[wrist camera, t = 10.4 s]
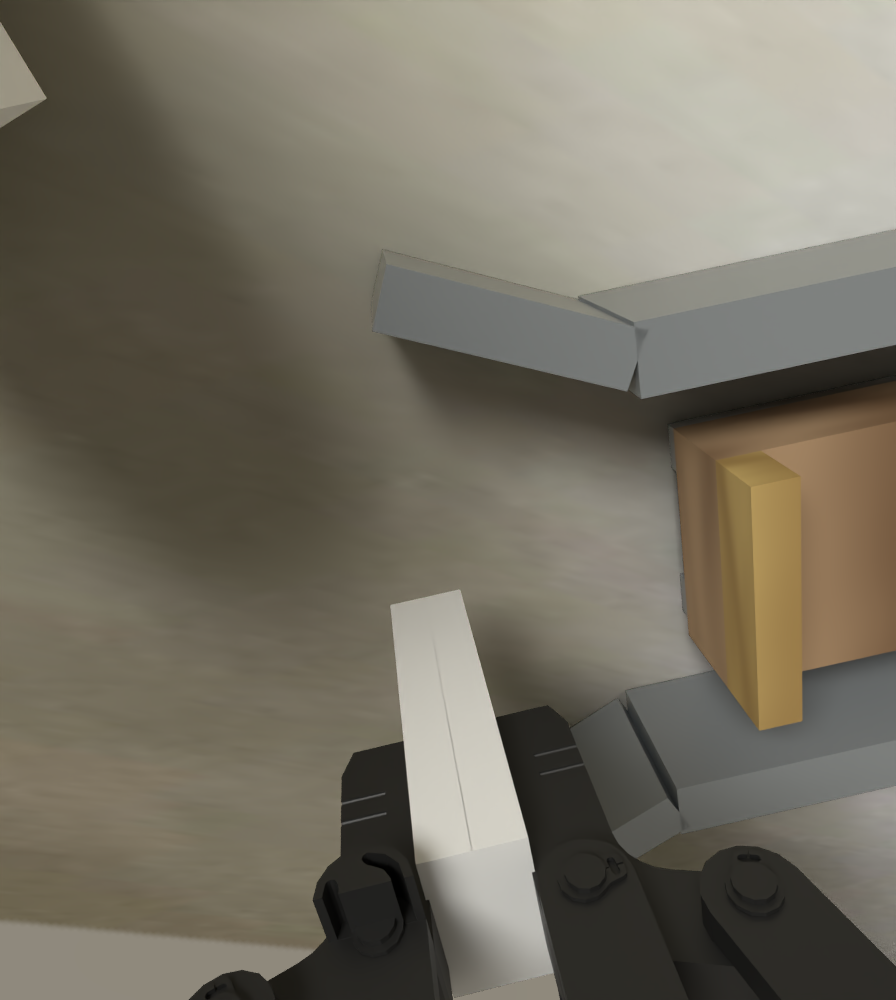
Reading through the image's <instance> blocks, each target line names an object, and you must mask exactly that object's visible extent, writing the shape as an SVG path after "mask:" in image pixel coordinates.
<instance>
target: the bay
mask: <svg viewBox="0 0 896 1000" xmlns="http://www.w3.org/2000/svg"><path fill="white" fill-rule="evenodd" d="M578 297H579V300H578V299H574V298H570V297H566V296H562V295H558V294H554V293H550V292H546V291H543V290H539V289H535V288H531V287H527V286H523V285H519V284H515V283H511V282H507V281H504V280H500V279H496V278H492V277H488V276H484V275H480V274H476V273H472V272H468V271H465V270H461V269H457V268H453V267H449V266H445V265H441V264H437V263H433V262H429V261H426V260H422V259H418V258H414V257H410V256H406V255H402V254H398V253H394V252H390V251H387V250H383V249H382V253H381V258H380V263H379V268H378V273H377V277H376V282H375V287H374V292H373V296H372V301H371V312H372V331H373V332H377V333H381V334H385V335H390V336H394V337H398V338H402V339H407V340H411V341H415V342H419V343H423V344H428V345H432V346H436V347H440V348H445V349H449V350H453V351H457V352H462V353H466V354H470V355H474V356H479V357H483V358H487V359H491V360H496V361H500V362H504V363H508V364H513V365H517V366H521V367H525V368H530V369H534V370H538V371H542V372H546V373H551V374H555V375H559V376H563V377H568V378H572V379H576V380H580V381H585V382H589V383H593V384H597V385H602V386H606V387H610V388H614V389H619V390H623V391H628V390H629V391H631V392H632V393H634V394H635V395H636V396H638V397H639V398H640V399H644V398H649V397H654V396H658V395H663V394H668V393H672V392H677V391H682V390H686V389H691V388H696V387H700V386H705V385H710V384H714V383H719V382H724V381H728V380H733V379H738V378H742V377H747V376H752V375H756V374H761V373H766V372H771V371H775V370H780V369H785V368H789V367H794V366H799V365H803V364H808V363H813V362H817V361H822V360H827V359H831V358H836V357H841V356H845V355H850V354H855V353H859V352H864V351H869V350H873V349H878V348H883V347H887V346H892V345H896V229H895V230H890V231H885V232H880V233H876V234H871V235H866V236H861V237H857V238H852V239H847V240H842V241H838V242H833V243H828V244H823V245H819V246H814V247H809V248H804V249H800V250H795V251H790V252H785V253H781V254H776V255H771V256H766V257H762V258H757V259H752V260H747V261H743V262H738V263H733V264H728V265H724V266H719V267H714V268H710V269H705V270H700V271H695V272H691V273H686V274H681V275H676V276H672V277H667V278H662V279H657V280H653V281H648V282H643V283H638V284H634V285H629V286H624V287H619V288H615V289H610V290H605V291H600V292H596V293H591V294H586V295H581V296H578ZM625 691H626V699H627V707H628V711H627V709H626V708H625V707H624V705H623V704H622V703H621V702H620V700H619V699H618V698H617V699H615V700H614V701H612V702H611V703H609V704H608V705H606V706H604V707H603V708H601V709H600V710H598V711H597V712H595V713H593V714H592V715H590V716H589V717H587V718H586V719H584V720H582V721H581V722H579V723H578V724H576V725H575V726H573V727H571V728H570V730H571V733H572V735H573V737H574V740H575V742H576V746H577V748H578V750H579V752H580V755H581V757H582V760H583V762H584V766H585V767H586V769H587V772H588V774H589V777H590V779H591V782H592V784H593V787H594V789H595V792H596V794H597V797H598V799H599V802H600V804H601V806H602V809H603V811H604V814H605V816H606V819H607V821H608V824H609V826H610V829H611V831H612V833H613V835H614V837H615V839H616V840H617V842H618V844H619V845H620V846H621V847H622V848H623V849H624V850H625V851H626V852H627V853H628V854H630V855H631V856H633V857H634V858H638V857H640V856H641V855H643V854H645V853H646V852H648V851H650V850H651V849H653V848H655V847H656V846H658V845H660V844H661V843H663V842H665V841H666V840H668V839H670V838H671V837H673V836H675V835H676V834H678V833H680V832H681V834H684V833H689V832H693V831H698V830H702V829H707V828H711V827H715V826H720V825H724V824H729V823H733V822H738V821H742V820H746V819H751V818H755V817H760V816H764V815H769V814H773V813H777V812H782V811H786V810H791V809H795V808H800V807H804V806H808V805H813V804H817V803H822V802H826V801H831V800H835V799H839V798H844V797H848V796H853V795H857V794H862V793H866V792H870V791H875V790H879V789H884V788H888V787H892V786H896V651H891V652H887V653H882V654H878V655H873V656H869V657H864V658H860V659H855V660H851V661H846V662H842V663H837V664H833V665H828V666H824V667H819V668H815V669H810V670H806V671H802V721H801V722H796V723H792V724H788V725H783V726H779V727H774V728H770V729H765V730H761V731H759V730H758V728H757V727H756V726H755V724H754V723H753V722H752V720H751V719H750V717H749V716H748V715H747V713H746V712H745V711H744V709H743V708H742V707H741V705H740V704H739V702H738V701H737V700H736V698H735V697H734V696H733V694H732V693H731V692H730V690H729V689H728V687H727V686H726V685H725V683H724V682H723V681H722V679H721V678H720V677H719V675H718V674H717V673H716V671H711V672H706V673H702V674H697V675H693V676H688V677H684V678H679V679H675V680H670V681H666V682H661V683H657V684H652V685H648V686H643V687H639V688H634V689H630V690H625Z"/></svg>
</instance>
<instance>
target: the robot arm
mask: <svg viewBox="0 0 896 1000" xmlns="http://www.w3.org/2000/svg"><path fill="white" fill-rule="evenodd" d="M390 606H391V616H392V627H393V637H394V647H395V658H396V668H397V678H398V688H399V699H400V709H401V719H402V729H403V740H404V741H402V742H398V743H394V744H389V745H385V746H381V747H377V748H372V749H368V750H364V751H360V752H355V753H353V755H352V757H351V759H350V761H349V763H348V765H347V767H346V769H345V771H344V773H343V775H342V794H341V802H342V806H341V823H342V827H341V857H339V858H338V859H337V860H335V861H334V862H333V863H332V864H330V865H329V866H328V867H327V869H326V870H325V872H324V873H323V875H322V876H321V878H320V879H319V880H318V882H317V885H316V889H315V893H314V897H313V902H314V905H315V908H316V910H317V913H318V916H319V918H320V921H321V924H322V926H323V929H324V932H325V934H326V939H325V940H324V942H323V943H322V944H321V945H320V946H319V947H318V948H317V949H316V950H315V951H314V952H313V953H312V954H310V955H309V956H308V957H306V958H305V959H303V960H302V961H301V962H299V963H298V964H296V965H294V966H293V967H291V968H289V969H287V970H286V971H284V972H282V973H281V974H279V975H277V976H275V977H274V978H272V979H270V980H269V981H266V980H265V979H264V978H263V977H262V976H261V975H260V974H258V973H253V972H248V971H244V970H240V971H236V972H230V973H226V974H222V975H220V976H219V977H217V978H215V979H213V980H212V981H210V982H208V983H206V984H205V985H203V986H202V987H201V988H200V989H199V990H198V991H197V992H196V993H195V994H194V995H193V996H192V997H191V998H190V999H189V1000H453V997H452V992H453V996H454V998H456V997H460V996H464V995H468V994H472V993H476V992H480V991H484V990H488V989H492V988H496V987H500V986H504V985H508V984H512V983H516V982H520V981H524V980H528V979H532V978H536V977H540V976H544V975H548V974H552V973H554V976H555V979H556V983H557V987H558V991H559V996H560V1000H896V966H895V965H894V964H893V963H892V962H891V961H890V960H889V959H888V958H887V957H886V956H885V955H884V954H883V953H882V952H881V951H880V950H879V949H878V948H877V947H876V946H875V945H874V944H873V943H872V942H871V941H870V940H869V939H868V938H867V937H866V936H865V935H864V934H863V933H862V932H861V931H860V930H859V929H858V928H857V927H856V926H855V925H854V924H853V923H852V922H851V921H850V920H849V919H848V918H847V917H846V916H845V915H844V914H843V913H842V912H841V911H840V910H839V909H838V908H837V907H836V906H835V905H834V904H833V903H832V902H831V901H830V900H829V899H828V898H827V897H826V896H825V895H824V894H823V893H822V892H821V891H820V890H819V889H818V888H817V887H816V886H815V885H814V884H813V883H812V882H811V881H810V880H809V879H808V878H807V877H806V876H805V875H804V874H803V873H802V872H801V871H800V870H799V869H798V868H797V867H795V866H794V865H793V864H791V863H790V862H789V861H787V860H786V859H784V858H783V857H782V856H780V855H779V854H776V853H774V852H771V851H768V850H765V849H763V848H760V847H750V846H735V847H731V848H728V849H724V850H721V851H719V852H717V853H716V854H715V855H714V856H712V857H711V858H710V859H709V860H708V861H706V863H705V865H704V867H703V870H702V871H686V870H670V869H664V868H658V867H654V866H651V865H648V864H646V863H643V862H641V861H639V860H637V859H636V858H634V857H633V856H631V855H630V854H628V853H627V852H626V851H625V850H624V849H623V848H622V847H621V846H620V845H619V844H618V842H617V840H616V839H615V837H614V835H613V833H612V831H611V829H610V826H609V824H608V821H607V819H606V816H605V814H604V811H603V809H602V806H601V804H600V802H599V799H598V797H597V794H596V792H595V789H594V787H593V784H592V782H591V779H590V777H589V774H588V772H587V769H586V767H585V766H584V762H583V760H582V757H581V755H580V752H579V750H578V748H577V746H576V742H575V740H574V737H573V735H572V733H571V730H570V728H569V725H568V723H567V721H566V720H565V719H563V718H562V717H561V716H560V715H559V714H558V713H556V712H555V711H554V710H553V709H552V708H551V707H549V706H548V705H547V706H543V707H538V708H534V709H530V710H526V711H521V712H517V713H513V714H509V715H504V716H500V717H496V718H495V715H494V711H493V707H492V704H491V700H490V696H489V693H488V689H487V686H486V682H485V678H484V675H483V671H482V667H481V664H480V660H479V656H478V653H477V649H476V645H475V642H474V638H473V634H472V631H471V627H470V624H469V620H468V616H467V613H466V609H465V605H464V602H463V598H462V594H461V591H460V589H459V590H454V591H450V592H445V593H441V594H437V595H432V596H428V597H424V598H419V599H415V600H410V601H406V602H402V603H397V604H393V605H390Z"/></svg>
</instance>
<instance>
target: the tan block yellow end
mask: <svg viewBox="0 0 896 1000" xmlns="http://www.w3.org/2000/svg"><path fill="white" fill-rule="evenodd" d="M668 430H669V443H670V456H671V468H673V469H674V470H675V471H676V472H677V485H678V498H679V511H680V524H681V537H682V551H683V564H684V573H680V583H681V595H682V608H683V611H684V613H685V614H686V615H687V617H688V629H689V636H690V637H691V638H692V640H693V641H694V643H695V644H696V645H697V647H698V648H699V649H700V651H701V652H702V653H703V655H704V656H705V658H706V659H707V660H708V662H709V663H710V664H711V666H712V667H713V668H714V670H715V671H716V673H717V674H718V675H719V677H720V678H721V679H722V681H723V682H724V683H725V685H726V686H727V687H728V689H729V690H730V692H731V693H732V694H733V696H734V697H735V698H736V700H737V701H738V702H739V704H740V705H741V707H742V708H743V709H744V711H745V712H746V713H747V715H748V716H749V717H750V719H751V720H752V722H753V723H754V724H755V726H756V727H757V728H758V730H759V731H761V730H765V729H770V728H774V727H779V726H783V725H788V724H792V723H796V722H801V721H802V671H806V670H810V669H815V668H819V667H824V666H828V665H833V664H837V663H842V662H846V661H851V660H855V659H860V658H864V657H869V656H873V655H878V654H882V653H887V652H891V651H896V375H895V376H890V377H885V378H881V379H876V380H871V381H867V382H862V383H857V384H853V385H848V386H843V387H839V388H834V389H829V390H825V391H820V392H815V393H811V394H806V395H801V396H797V397H792V398H787V399H783V400H778V401H773V402H769V403H764V404H760V405H755V406H750V407H746V408H741V409H736V410H732V411H727V412H722V413H718V414H713V415H708V416H704V417H699V418H694V419H690V420H685V421H680V422H676V423H671V424H668Z"/></svg>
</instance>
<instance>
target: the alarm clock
mask: <svg viewBox="0 0 896 1000" xmlns="http://www.w3.org/2000/svg"><path fill="white" fill-rule="evenodd" d="M45 99H47V98H46V96H45V95H44V93H43V91H42V90H41V88H40V86H39V85H38V83H37V81H36V80H35V78H34V76H33V75H32V73H31V72H30V70H29V68H28V67H27V65H26V63H25V62H24V60H23V58H22V57H21V55H20V54H19V52H18V50H17V49H16V47H15V45H14V44H13V42H12V40H11V39H10V37H9V35H8V34H7V32H6V31H5V29H4V27H3V26H2V24H1V22H0V128H1V127H2V126H4V125H6V124H7V123H9V122H10V121H12V120H14V119H15V118H17V117H18V116H20V115H22V114H23V113H25V112H26V111H28V110H30V109H31V108H33V107H34V106H36V105H37V104H39V103H41V102H42V101H44V100H45Z"/></svg>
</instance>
